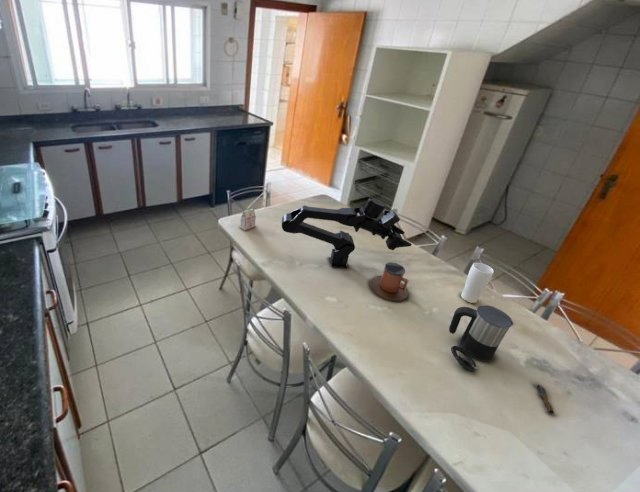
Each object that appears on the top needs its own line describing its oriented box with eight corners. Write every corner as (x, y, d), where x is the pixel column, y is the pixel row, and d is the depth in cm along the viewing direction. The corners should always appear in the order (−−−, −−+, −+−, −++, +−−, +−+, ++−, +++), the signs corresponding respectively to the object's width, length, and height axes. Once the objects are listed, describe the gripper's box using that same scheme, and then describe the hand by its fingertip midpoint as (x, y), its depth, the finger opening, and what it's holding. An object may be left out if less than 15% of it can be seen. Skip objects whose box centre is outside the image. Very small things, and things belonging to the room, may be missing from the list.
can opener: (553, 414, 87) (555, 412, 87) (542, 410, 88) (544, 407, 88) (543, 387, 95) (545, 384, 94) (533, 383, 96) (535, 380, 95)
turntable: (377, 301, 124) (378, 299, 123) (364, 277, 136) (365, 275, 136) (414, 302, 124) (414, 300, 124) (397, 278, 137) (398, 276, 136)
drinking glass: (482, 306, 124) (497, 275, 117) (462, 303, 125) (477, 271, 118) (474, 294, 130) (489, 263, 123) (455, 291, 131) (469, 260, 124)
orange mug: (376, 286, 129) (382, 267, 125) (384, 278, 134) (389, 259, 130) (400, 298, 124) (406, 279, 120) (407, 289, 128) (413, 270, 124)
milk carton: (240, 227, 167) (241, 210, 163) (250, 223, 171) (251, 206, 167) (244, 230, 165) (245, 213, 160) (254, 226, 169) (256, 209, 164)
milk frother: (488, 342, 108) (506, 309, 102) (506, 384, 95) (528, 349, 88) (440, 330, 112) (455, 297, 106) (451, 368, 99) (468, 333, 92)
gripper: (388, 220, 122) (427, 235, 122) (377, 199, 138) (411, 212, 139) (373, 243, 127) (410, 257, 127) (364, 220, 143) (396, 233, 144)
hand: (407, 239), depth 134 cm, fingers open, 9 cm apart
